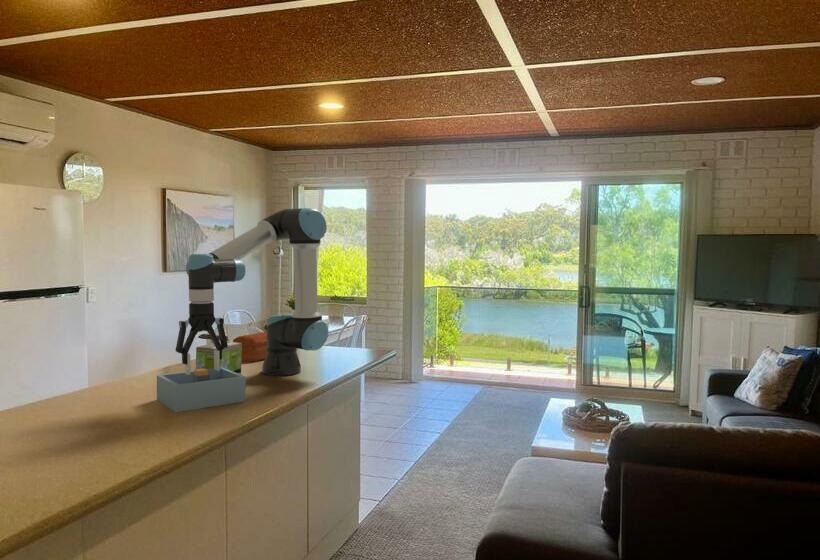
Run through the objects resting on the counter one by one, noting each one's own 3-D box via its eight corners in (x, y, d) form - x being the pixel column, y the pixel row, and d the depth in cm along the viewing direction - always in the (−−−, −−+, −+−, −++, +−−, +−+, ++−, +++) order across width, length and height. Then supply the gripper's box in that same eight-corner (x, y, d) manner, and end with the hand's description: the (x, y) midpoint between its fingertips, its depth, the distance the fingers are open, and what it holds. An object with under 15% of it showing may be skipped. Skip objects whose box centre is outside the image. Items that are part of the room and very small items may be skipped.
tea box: (220, 390, 204) (220, 348, 203) (194, 388, 206) (194, 346, 205) (242, 381, 219) (242, 341, 218) (217, 379, 221) (217, 340, 220)
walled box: (222, 390, 205) (223, 367, 204) (245, 401, 191) (245, 376, 190) (156, 399, 190) (156, 375, 190) (176, 412, 177) (176, 385, 176)
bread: (226, 359, 261) (226, 335, 260) (266, 350, 285) (266, 329, 284) (253, 363, 254) (253, 338, 253) (292, 354, 278) (292, 331, 277)
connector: (209, 401, 190) (209, 370, 190) (197, 402, 188) (197, 371, 187) (204, 398, 193) (205, 368, 193) (192, 400, 191) (192, 369, 190)
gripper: (228, 299, 199) (229, 365, 200) (162, 303, 185) (164, 374, 186) (238, 301, 193) (239, 369, 195) (171, 305, 179) (172, 379, 181)
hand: (202, 371), depth 190 cm, fingers open, 9 cm apart
